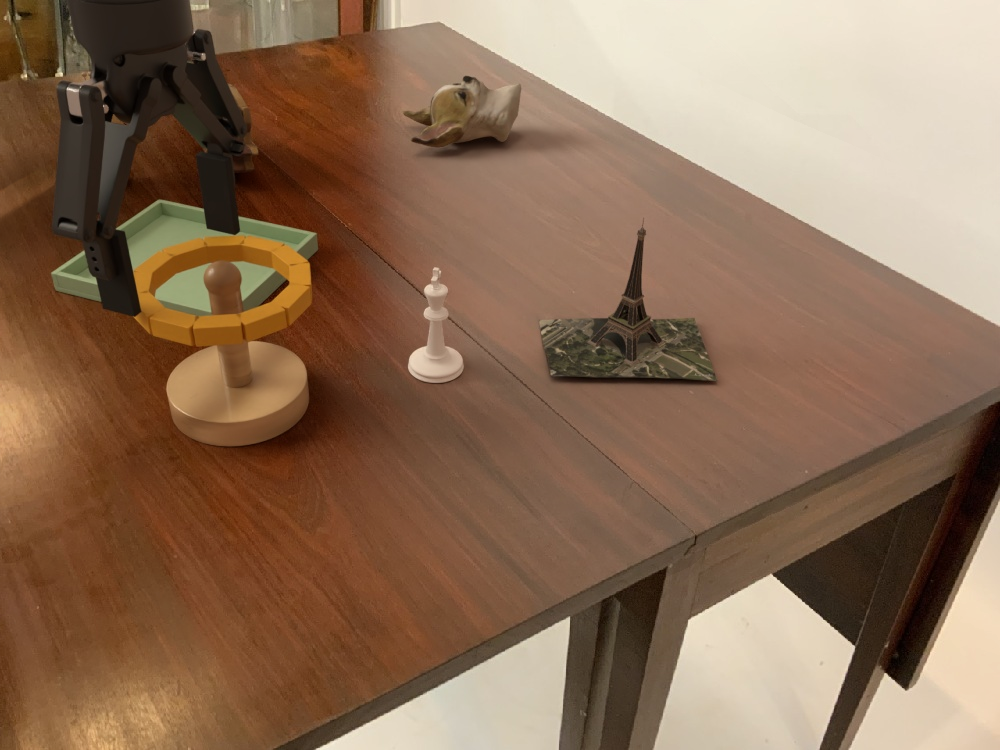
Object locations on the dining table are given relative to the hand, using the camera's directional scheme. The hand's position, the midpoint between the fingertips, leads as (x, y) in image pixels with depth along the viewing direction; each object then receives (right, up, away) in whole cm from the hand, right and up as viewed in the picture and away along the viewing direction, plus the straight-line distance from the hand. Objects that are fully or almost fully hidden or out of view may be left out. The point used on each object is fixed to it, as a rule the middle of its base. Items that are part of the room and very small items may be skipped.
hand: (176, 267), depth 75 cm
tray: (-6, +2, +23) cm, 24 cm away
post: (+3, -11, +6) cm, 13 cm away
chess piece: (+19, -8, +11) cm, 24 cm away
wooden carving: (-8, +17, +42) cm, 46 cm away
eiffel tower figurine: (+36, -6, +15) cm, 40 cm away
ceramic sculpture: (+20, +22, +52) cm, 60 cm away
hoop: (+4, -2, 0) cm, 4 cm away
